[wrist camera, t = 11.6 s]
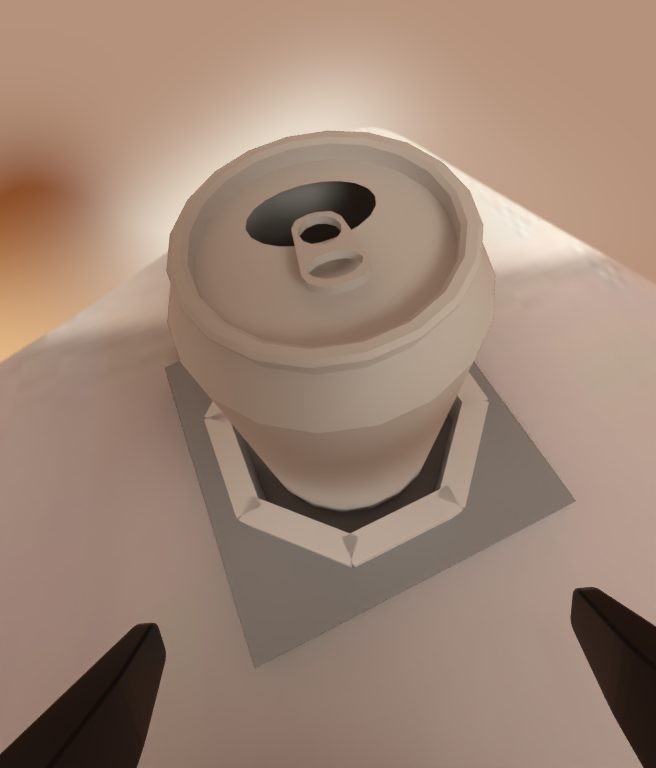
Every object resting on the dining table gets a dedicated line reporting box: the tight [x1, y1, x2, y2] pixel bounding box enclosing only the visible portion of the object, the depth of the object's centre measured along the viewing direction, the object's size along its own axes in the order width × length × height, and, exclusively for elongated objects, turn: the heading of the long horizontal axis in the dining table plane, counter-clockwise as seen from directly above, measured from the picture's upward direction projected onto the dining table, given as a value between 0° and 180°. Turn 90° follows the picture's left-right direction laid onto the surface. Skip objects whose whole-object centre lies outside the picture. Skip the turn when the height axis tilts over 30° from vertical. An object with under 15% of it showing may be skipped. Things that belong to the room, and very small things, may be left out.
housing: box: [165, 361, 576, 668], centre depth 18 cm, size 14×14×3 cm
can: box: [166, 131, 495, 512], centre depth 13 cm, size 8×8×12 cm
